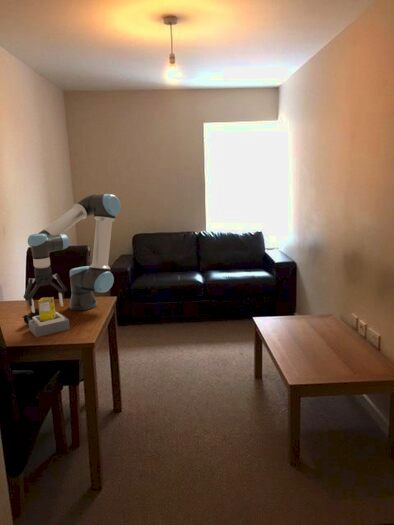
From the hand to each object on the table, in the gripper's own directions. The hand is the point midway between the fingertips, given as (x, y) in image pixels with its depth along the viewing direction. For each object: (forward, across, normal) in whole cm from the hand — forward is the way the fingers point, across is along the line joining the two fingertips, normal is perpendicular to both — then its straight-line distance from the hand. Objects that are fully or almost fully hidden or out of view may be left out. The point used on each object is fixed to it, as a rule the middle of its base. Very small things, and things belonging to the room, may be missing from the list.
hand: (47, 308), depth 207 cm
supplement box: (+6, 0, 0) cm, 6 cm away
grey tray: (+11, 0, 0) cm, 11 cm away
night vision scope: (+11, +1, -17) cm, 20 cm away
